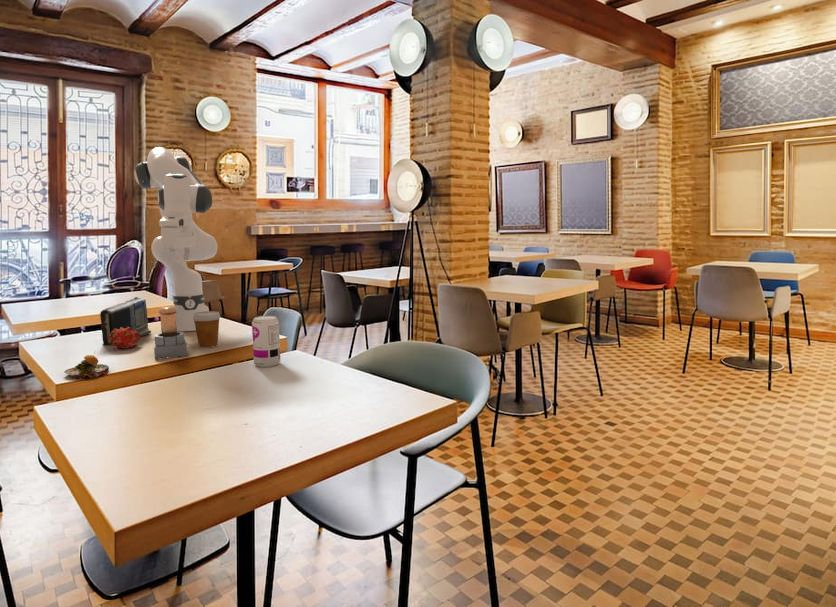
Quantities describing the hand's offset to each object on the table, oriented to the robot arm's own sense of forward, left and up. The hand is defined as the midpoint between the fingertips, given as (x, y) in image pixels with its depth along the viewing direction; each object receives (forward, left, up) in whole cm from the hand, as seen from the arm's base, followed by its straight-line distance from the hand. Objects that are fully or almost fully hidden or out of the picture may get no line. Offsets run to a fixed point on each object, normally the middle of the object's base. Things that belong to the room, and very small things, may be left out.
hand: (181, 261), depth 207 cm
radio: (-25, -19, -31) cm, 44 cm away
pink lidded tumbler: (+9, -6, -27) cm, 29 cm away
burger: (+24, -30, -32) cm, 50 cm away
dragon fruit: (-9, -20, -31) cm, 38 cm away
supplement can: (+37, +21, -31) cm, 53 cm away
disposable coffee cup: (+1, +7, -31) cm, 32 cm away
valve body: (+6, -6, -31) cm, 32 cm away
